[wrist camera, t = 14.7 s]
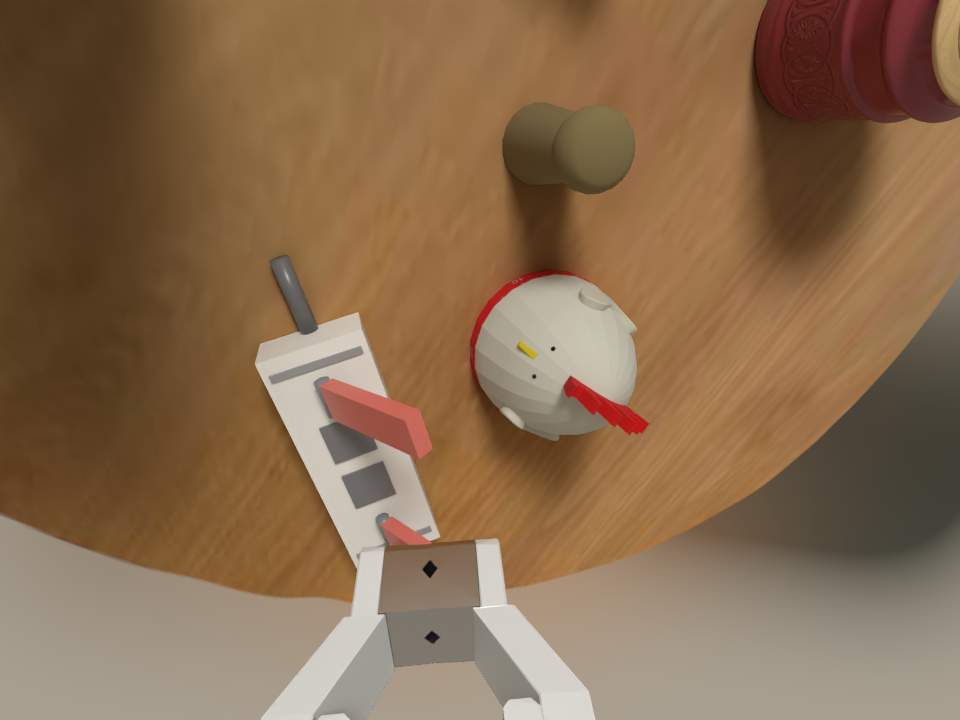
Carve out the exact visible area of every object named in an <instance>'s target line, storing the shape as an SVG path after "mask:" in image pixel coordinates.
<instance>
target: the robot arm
mask: <svg viewBox="0 0 960 720" xmlns="http://www.w3.org/2000/svg"><path fill="white" fill-rule="evenodd" d="M464 661H475V664H476V665H477V667H478V669H479V670H480V672H481V674H482V675H483V677H484V678H485V680H486V681H487V683H488V685H489V686H490V688H491V689H492V691H493V693H494V694H495V696H496V697H497V699H498V700H499V702H500V704H501V705H502V707H503V720H595V716H594V712H593V708H592V704H591V699H590V695H589V691H588V690H587V689H586V688H585V687H584V685H583V684H582V683H581V682H580V681H579V680H578V679H577V677H576V676H575V675H574V674H573V673H572V671H571V670H570V669H569V668H568V667H567V666H566V664H565V663H564V662H563V661H562V660H561V659H560V658H559V656H558V655H557V654H556V653H555V652H554V651H553V649H552V648H551V647H550V646H549V645H548V643H547V642H546V641H545V640H544V639H543V638H542V637H541V635H540V634H539V633H538V632H537V631H536V630H535V629H534V627H533V626H532V625H531V624H530V623H529V621H528V620H527V619H526V618H525V617H524V616H523V614H521V612H520V611H519V610H518V609H517V607H516V606H515V605H507V599H506V591H505V583H504V575H503V568H502V560H501V552H500V544H499V541H498V539H484V540H465V541H452V542H440V543H431V544H420V545H396V546H377V547H362V550H361V552H360V556H359V562H358V569H357V576H356V582H355V589H354V595H353V602H352V609H351V615H350V617H343V618H342V619H341V621H340V622H339V623H338V624H337V626H336V627H335V628H334V629H333V631H332V632H331V633H330V634H329V636H328V637H327V638H326V639H325V640H324V642H323V643H322V644H321V645H320V647H319V648H318V649H317V650H316V651H315V653H314V654H313V655H312V656H311V658H310V659H309V660H308V661H307V663H306V664H305V665H304V666H303V667H302V669H301V670H300V671H299V672H298V674H297V675H296V676H295V677H294V678H293V680H292V681H291V682H290V683H289V685H288V686H287V687H286V688H285V690H284V691H283V692H282V693H281V694H280V696H279V697H278V698H277V699H276V701H275V702H274V703H273V704H272V705H271V707H270V708H269V709H268V710H267V712H266V713H265V714H264V715H263V717H262V718H261V720H366V719H367V717H368V715H369V714H370V712H371V710H372V708H373V707H374V705H375V703H376V702H377V700H378V698H379V697H380V695H381V693H382V691H383V690H384V688H385V686H386V684H387V683H388V681H389V679H390V677H391V676H392V674H393V672H394V670H395V669H394V667H403V666H411V665H421V664H430V663H445V662H464Z"/></svg>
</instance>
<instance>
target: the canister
mask: <svg viewBox="0 0 960 720" xmlns="http://www.w3.org/2000/svg"><path fill="white" fill-rule="evenodd" d="M755 62H756V72H757V78H758V82H759V85H760V88H761V90H762V93H763V95H764V96H765V98H766V100H767V101H768V103H769V104H770V105H771V106H772V107H773V108H774V109H775V110H776V111H777V112H779V113H780V114H782V115H784V116H786V117H789V118H793V119H796V120H798V121H802V122H808V123H825V122H831V121H835V120H872V121H875V122H880V123H895V122H900V121H904V120H907V119H909V118H913V119H915V120H918V121H921V122H927V123H940V122H945V121H949V120H952V119H955V118H958V117H960V0H768V3H767V5H766V7H765V10H764V12H763V15H762V18H761V22H760V25H759V29H758V34H757V40H756V51H755Z"/></svg>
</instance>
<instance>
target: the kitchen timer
mask: <svg viewBox="0 0 960 720" xmlns="http://www.w3.org/2000/svg"><path fill="white" fill-rule="evenodd" d="M636 331H637V328H636V327H635V326H634V324H633V323H632V322H631V321H630V319H629V318H628V317H627V316H626V315H625V314H624V313H623V312H622V311H621V309H620V308H619V307H618V306H617V305H616V304H615V302H614V301H613V300H612V299H611V298H609V297H608V296H607V295H606V294H605V293H603V292H602V291H601V290H600V289H599V288H597V287H596V286H595V285H594V284H592V283H591V282H589V281H587V280H586V279H583V278H581V277H579V276H577V275H574V274H572V273H570V272H567V271H556V270H544V271H539V272H534V273H529V274H525V275H524V276H522V277H520V278H518V279H516V280H514V281H512V282H510V283H508V284H506V285H505V286H504V287H503V288H502V289H501V290H500V291H499V292H497V293H496V294H495V295H494V296H493V297H492V298H491V299H490V300H489V301H488V303H487V304H486V306H485V307H484V309H483V311H482V312H481V314H480V315H479V317H478V318H477V321H476V324H475V327H474V330H473V334H472V337H471V340H470V361H471V365H472V368H473V371H474V374H475V378H476V380H477V381H478V383H479V385H480V386H481V388H482V389H483V390H484V392H485V393H486V395H487V396H488V397H489V399H490V400H491V401H492V403H493V404H494V405H495V406H497V407H498V408H499V409H500V412H501V413H502V414H503V415H504V416H506V417H507V418H508V419H509V420H510V421H511V422H512V423H514V424H515V425H516V426H517V427H518V428H520V429H523V430H526V431H529V432H531V433H534V434H536V435H539V436H541V437H544V438H546V439H549V440H553V441H558V440H559V435H580V434H584V433H588V432H592V431H595V430H598V429H600V428H602V427H604V426H605V425H607V424H609V423H610V424H611V425H613V426H614V427H615V426H616V425H619V426H620V427H621V428H622V429H623V430H624V431H625V432H627V433H628V434H629V435H630V434H631V433H632V432H634V433H635V434H638V433H639V432H640V433H642V432H643V431H644V430H645V429H646V427H647V426H648V425H649V423H648V422H646V421H645V420H644V419H643V418H641V417H640V416H639V415H638V414H636V413H635V412H634V411H632V410H631V409H630V408H628V407H627V406H626V405H627V404H628V402H629V400H630V397H631V395H632V393H633V390H634V386H635V380H636V373H637V362H636V355H635V348H634V343H633V340H632V337H631V335H630V334H632V333H634V332H636Z"/></svg>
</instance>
